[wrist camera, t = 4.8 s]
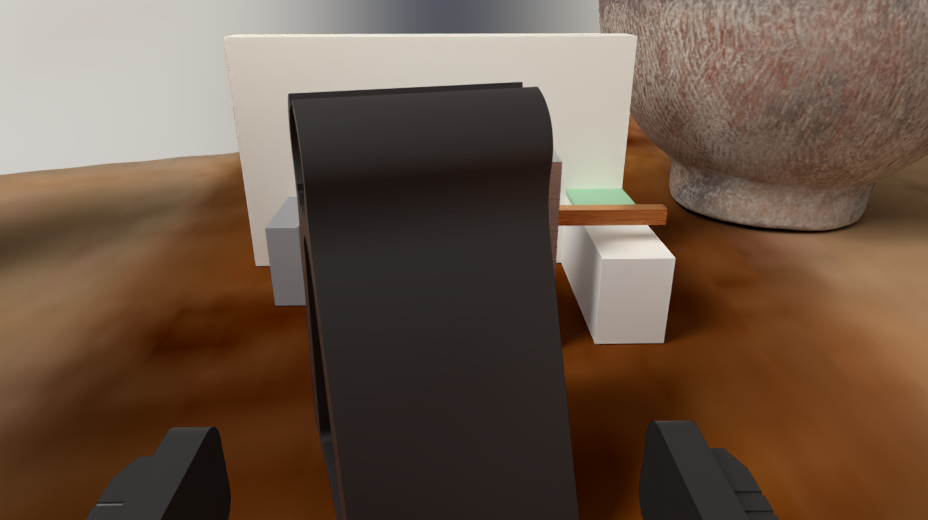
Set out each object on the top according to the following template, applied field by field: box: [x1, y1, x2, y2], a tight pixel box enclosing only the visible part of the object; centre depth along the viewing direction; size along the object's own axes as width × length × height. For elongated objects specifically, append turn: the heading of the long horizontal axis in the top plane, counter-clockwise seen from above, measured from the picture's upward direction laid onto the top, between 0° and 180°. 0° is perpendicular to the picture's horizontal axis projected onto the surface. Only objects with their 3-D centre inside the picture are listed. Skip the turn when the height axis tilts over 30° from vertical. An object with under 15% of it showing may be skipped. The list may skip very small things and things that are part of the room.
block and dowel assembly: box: [549, 149, 668, 277], centre depth 27 cm, size 15×3×8 cm, turn 91°
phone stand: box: [288, 82, 579, 520], centre depth 18 cm, size 9×6×12 cm, turn 19°
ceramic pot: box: [599, 0, 928, 231], centre depth 41 cm, size 25×25×24 cm
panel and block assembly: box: [223, 33, 676, 344], centre depth 30 cm, size 20×11×12 cm, turn 91°
